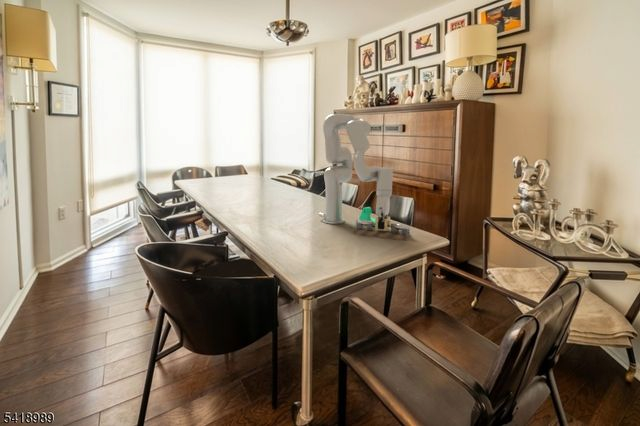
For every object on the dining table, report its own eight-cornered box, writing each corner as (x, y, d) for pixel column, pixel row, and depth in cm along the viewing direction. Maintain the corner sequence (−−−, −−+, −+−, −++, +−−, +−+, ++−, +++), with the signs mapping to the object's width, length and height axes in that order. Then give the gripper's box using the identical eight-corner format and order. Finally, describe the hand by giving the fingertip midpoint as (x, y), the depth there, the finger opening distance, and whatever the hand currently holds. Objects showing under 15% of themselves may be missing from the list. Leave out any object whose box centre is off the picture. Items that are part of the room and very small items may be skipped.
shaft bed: (354, 233, 183) (354, 230, 182) (360, 228, 192) (360, 225, 192) (405, 240, 172) (405, 237, 172) (409, 234, 182) (409, 231, 182)
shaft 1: (355, 229, 184) (355, 220, 183) (356, 227, 189) (357, 218, 187) (373, 231, 182) (373, 222, 181) (374, 228, 186) (374, 220, 185)
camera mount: (381, 226, 197) (382, 208, 194) (369, 228, 194) (369, 209, 192) (370, 221, 208) (371, 204, 205) (358, 222, 205) (359, 205, 202)
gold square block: (374, 229, 181) (374, 217, 179) (377, 226, 186) (377, 215, 185) (388, 231, 178) (388, 219, 177) (390, 228, 183) (391, 216, 182)
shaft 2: (389, 233, 179) (389, 224, 178) (392, 231, 182) (393, 222, 181) (406, 236, 174) (407, 226, 173) (409, 234, 177) (410, 224, 176)
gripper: (381, 189, 187) (379, 222, 191) (371, 194, 172) (370, 230, 176) (395, 190, 184) (393, 224, 188) (387, 195, 169) (385, 232, 173)
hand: (382, 227), depth 182 cm, fingers closed on gold square block, 6 cm apart
